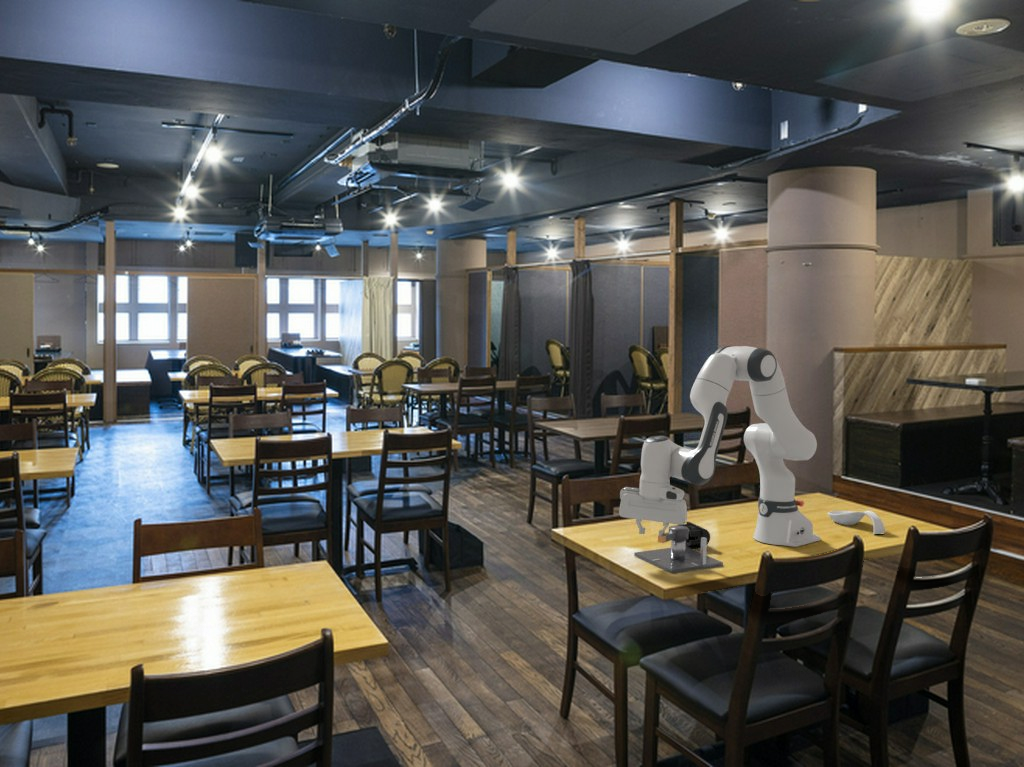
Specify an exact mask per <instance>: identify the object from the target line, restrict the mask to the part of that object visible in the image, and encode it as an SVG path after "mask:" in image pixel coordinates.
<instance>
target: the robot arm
mask: <svg viewBox="0 0 1024 767" xmlns="http://www.w3.org/2000/svg"><path fill="white" fill-rule="evenodd" d="M735 381H737V382H738V381H739V382H742V381H743V382H744V381H745V382H749V389H750V392H751V393H750V394H751V399H752V403H753V408H754V411H755V414H756V415H757V417H759V418H760V420H762V421H763V422H764V423H763V422H760V423H753V424H750V425H749V426H748V427H747V428H746V429H745V432H744V434H743V443H744V446H745V448H746V450H748V451H749V452H750V453H751V455H752V456H753V458H754V460H755V462H756V465H757V468H758V471H759V479H760V481H759V482H760V485H759V488H760V489H759V490H760V491H759V497H758V501H757V508H758V512H757V519H756V527H755V530H754V533H753V537H752V538H753V539H754V540H756V541H757V542H760V543H764V544H770V545H775V546H776V545H777V546H787V547H794V548H795V547H796V548H797V547H800V546H804V545H807V544H808V545H809V544H812V543H815V542H819V541H821V537H820V535H817V534H816V533H814V526H813V523H812V521H811V520H810V519H809V518H808V517H807V516H805V515H804V514H803V513H802V512H801V511H800V510H799V507H800V508H801V507H804V505H805V501H804V500H801V499H797V500H796V499H795V498H796V497H795V496H796V495H795V494H796V491H795V489H796V477H795V474H793V472H792V471H791V470H790V469H788V467H787V466H786V465H785V461H784V460H788V461H793V462H797V461H809V460H810V459H811V458H812V457H813V456H814V455H815V453H816V451H817V448H818V442H817V438H816V436H815V434H814V433H813V432H811V430H809V429H808V428H806V427H805V426H804V425H803V424H802V423H801V421H800V420H799V419H798V417H797V416H796V414H795V412H794V411H793V409H792V406H791V403H790V400H789V399H790V398H789V396H788V391H787V386H786V381H785V378H784V374H783V371H782V369H781V367H780V365H779V361H778V360H777V359H776V357H775V355H774V353H773V352H772V351H770V350H769V349H766V348H762V347H755V346H748V345H741V346H738V345H736V346H733V345H726V346H725V345H724V346H721V347H719V348H718V349H717V350H716V351H715V352H714V353H712V354H711V355H710V356H709V357H708V358H707V359H706V361H705V362H704V364H703V366H702V367H701V368H700V371H699V372H698V374H697V376H696V378H695V381H694V382H693V385H692V386H691V390H690V393H689V398H690V403H691V404H692V406H693V408H694V409H695V410H696V412H698V413H699V414H701V416H702V418H703V419H704V426H703V428H702V432H701V436H700V439H699V442H698V445H697V447H696V448H695V449H691V448H688V447H683V446H681V445H678V444H677V443H675V442H673V441H672V440H671V439H670V438H669V437H668V436H665V435H654V436H653V435H652V436H650V437H648V438H646V439H645V440H644V442H643V444H642V448H641V457H640V468H641V474H640V478H639V487H630V486H625V487H623V488H622V489H620V492H619V499H620V502H619V503H620V504H619V508H618V510H619V512H618V514H619V516H620V517H621V518H627V519H635V524H636V525H637V528H638V534H639V535H645V533H646V531H645V530H646V527H643V525H642V521H651V522H657V523H662V526H663V528H662V529H659V530H658V536H659V535H662V534H665V533H666V532H665V531H666V530H667V529H668V528H669V527H670V526H669V524H672V525H683V524H686V522H688V521H687V520H688V508H687V503H686V500H685V499H684V496H685V491H684V490H683V489H681V488H679V487H676V486H674V485H672V484H670V478H671V477H672V478H675V479H678V480H681V481H685V482H688V483H690V484H692V485H694V486H702V485H705V484H707V483H708V482H709V481H710V480H711V479H712V478H713V476H714V474H715V471H716V464H717V456H718V452H719V448H720V447H721V446H720V444H721V441H722V438H723V436H724V431H725V427H726V424H727V420H728V408H727V400H728V397H729V395H730V393H731V391H732V388H733V384H734V382H735ZM798 506H799V507H798Z"/></svg>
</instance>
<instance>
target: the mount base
mask: <svg viewBox="0 0 1024 767" xmlns="http://www.w3.org/2000/svg"><path fill="white" fill-rule="evenodd" d="M707 545H708V544H707V538H705V537H702V538H701V549H700V552H699V551H697V550H696V549H694V550H692V549H690V548H688V547H686V540H670V547H666V548H659V549H658V548H657V549H651V550H645V551H644V550H643V551H635V552H634V553H633V554H634V557H635V558H638V559H640V560H643V561H645V562H647V563H649V564H650V565H653V566H654V567H657V568H659V569H661V570H663V571H665V572H667V573H670V574H676V573H678V574H679V573H683V572H691V571H697V569H698V570H702V569H703V570H704V569H711V568H717V567H722V566H723V565H724V562H723V561H720V560H718V559H717V558H716V559H715V558H713V557H711V556H709V555H707V548H708V546H707ZM710 567H711V568H710Z"/></svg>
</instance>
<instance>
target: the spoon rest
mask: <svg viewBox="0 0 1024 767" xmlns="http://www.w3.org/2000/svg"><path fill="white" fill-rule="evenodd" d="M827 515H828V517H829V518H830V519H831V520H832V521H834V522H835V523H836V524H838V523H839V525H842V524H844V525H843V526H854V525H853V524H855V525H856V524H857V523H859V522H860V521H861V520H862V519H863V518H864V516H867V517H868V518H869V519H870V520H871V522H872V524H873V525H872V526H873V535H874V534H881V533H885V534H886V527H885V525H884V522H883V521H882V519H881V518H880V517H879V515H877V513H875V512H874V511H872V510H865V511H854V510H831V511H829V512H827Z"/></svg>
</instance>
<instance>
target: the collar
mask: <svg viewBox="0 0 1024 767" xmlns="http://www.w3.org/2000/svg"><path fill="white" fill-rule="evenodd" d="M678 525H679V524H674V525H670V526H668V532H665V534H662V535H659V534H658V535H657V543H661V544H665V543H667V542H671V540H687V539H688V538H689V528H688V527H685V526H678Z"/></svg>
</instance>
